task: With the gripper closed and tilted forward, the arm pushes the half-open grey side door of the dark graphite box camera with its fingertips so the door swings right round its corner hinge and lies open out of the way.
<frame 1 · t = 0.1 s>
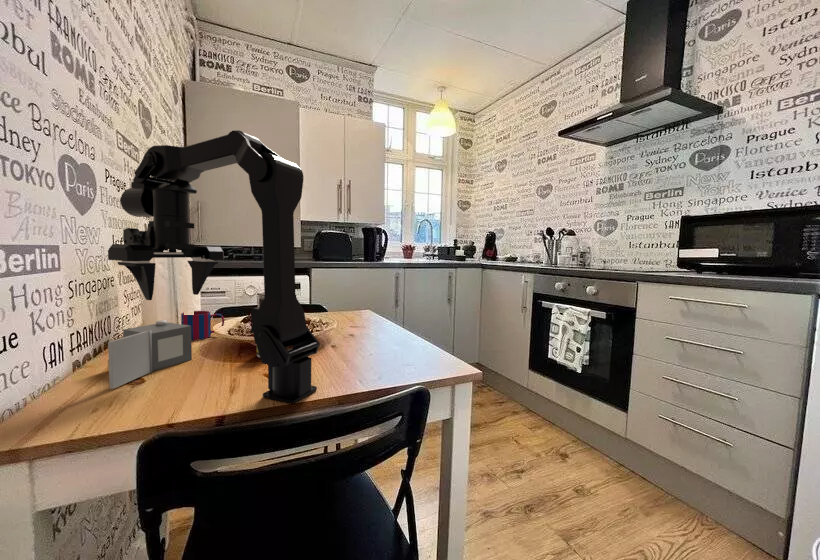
hand: (173, 297, 67), 15 cm above the table, tool pointing down, fingers open, 9 cm apart
supplement bottle: (267, 356, 79), on the table
side door: (131, 357, 61), point 4 cm above the table, hinge at 160.0°
mug: (203, 337, 93), on the table
camera body: (159, 362, 72), on the table
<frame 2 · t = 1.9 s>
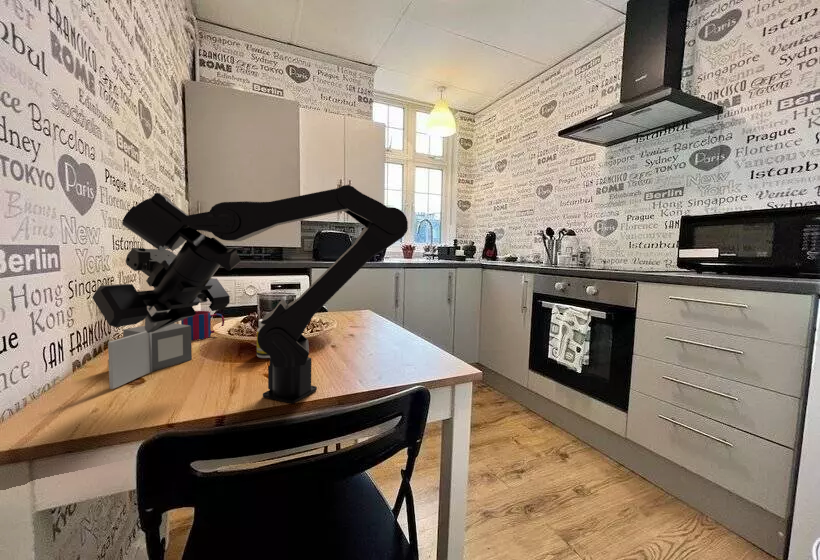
hand: (148, 330, 58), 10 cm above the table, tool tilted 45°, fingers closed
nothing on the table moved.
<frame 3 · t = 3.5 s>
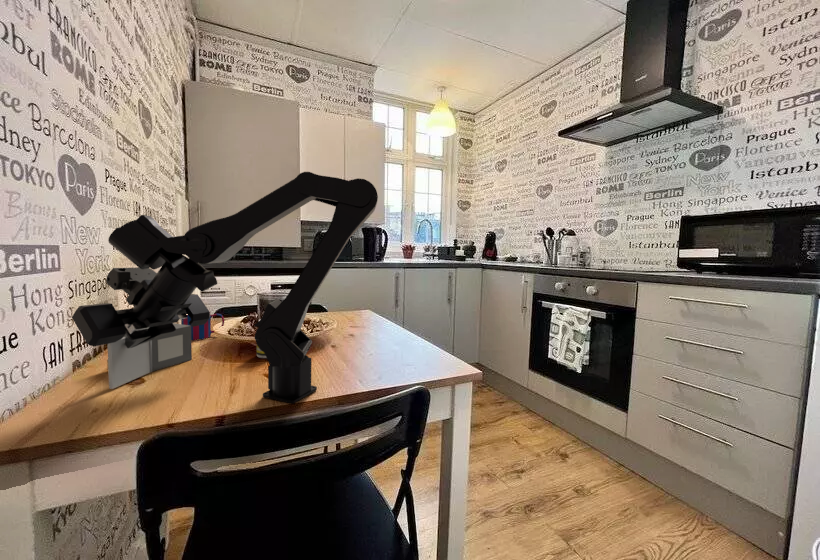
hand: (129, 345, 60), 7 cm above the table, tool tilted 45°, fingers closed, pressing on side door
side door: (131, 357, 61), point 4 cm above the table, hinge at 160.8°, touching gripper
everything else where it was.
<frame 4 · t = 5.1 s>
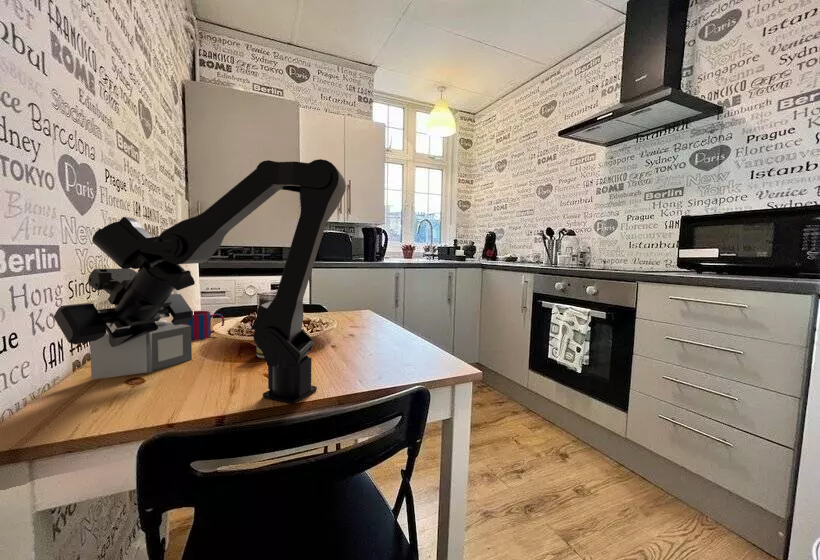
hand: (113, 344, 62), 6 cm above the table, tool tilted 45°, fingers closed
side door: (122, 353, 63), point 4 cm above the table, hinge at 218.4°, touching gripper
everything else where it was.
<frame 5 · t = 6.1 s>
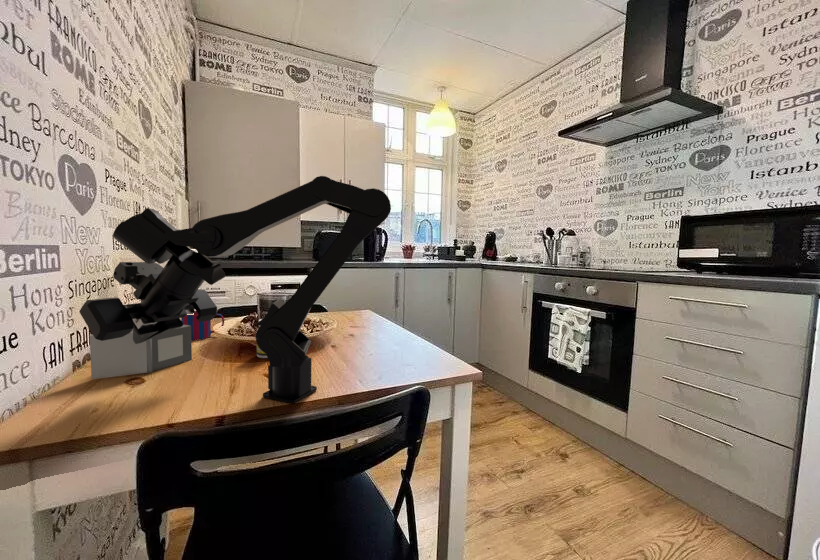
hand: (136, 341, 60), 8 cm above the table, tool tilted 45°, fingers closed
side door: (122, 353, 63), point 4 cm above the table, hinge at 218.6°
everything else where it was.
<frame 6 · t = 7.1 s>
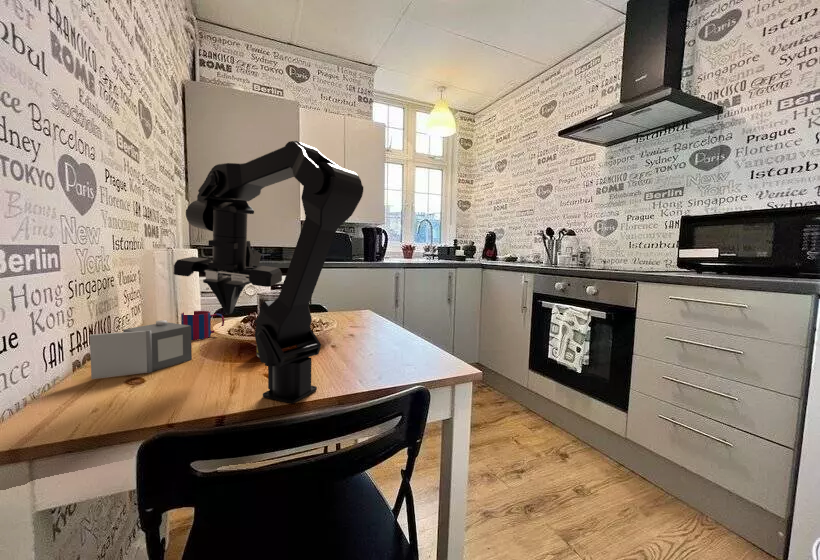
hand: (229, 313, 68), 12 cm above the table, tool pointing down, fingers closed
nothing on the table moved.
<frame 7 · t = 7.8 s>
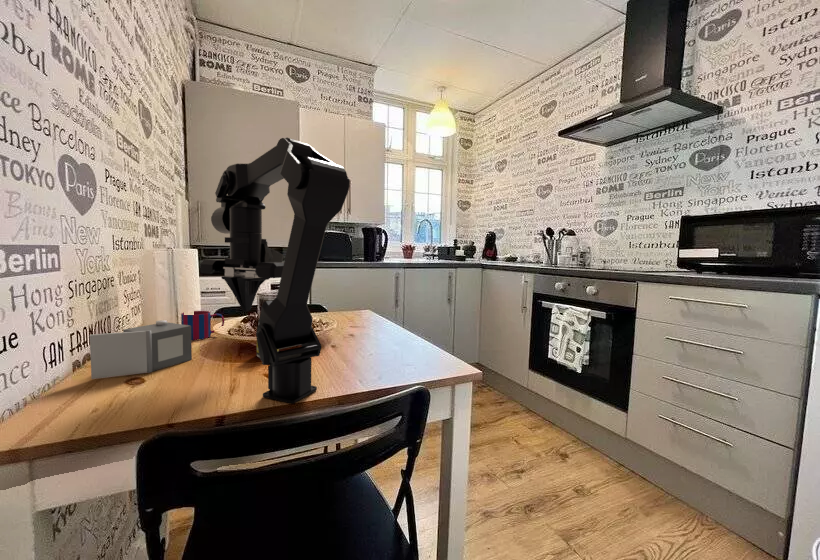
hand: (246, 311, 69), 12 cm above the table, tool pointing down, fingers closed
nothing on the table moved.
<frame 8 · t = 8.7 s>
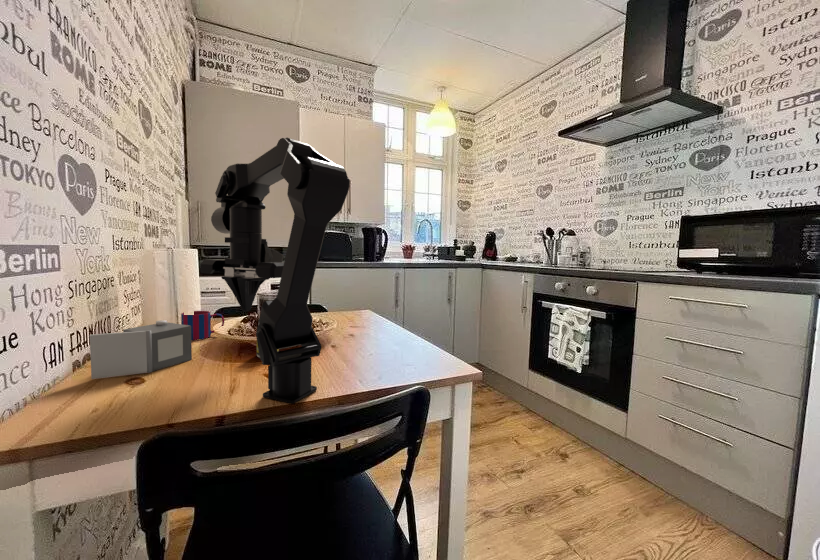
hand: (246, 311, 69), 12 cm above the table, tool pointing down, fingers closed
nothing on the table moved.
at the end: side door at +219° (first picture: +160°) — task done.
